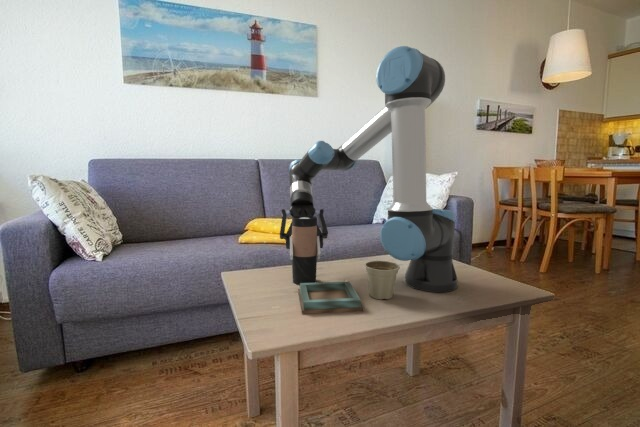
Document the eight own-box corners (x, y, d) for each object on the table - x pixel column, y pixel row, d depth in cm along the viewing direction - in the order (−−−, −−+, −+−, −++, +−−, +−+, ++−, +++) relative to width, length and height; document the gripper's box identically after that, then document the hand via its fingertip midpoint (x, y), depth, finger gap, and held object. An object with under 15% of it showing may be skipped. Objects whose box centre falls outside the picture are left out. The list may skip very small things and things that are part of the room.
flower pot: (398, 291, 96) (399, 261, 95) (398, 303, 87) (400, 271, 86) (365, 288, 98) (366, 259, 97) (362, 300, 89) (363, 268, 88)
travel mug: (306, 287, 99) (306, 219, 96) (286, 282, 103) (286, 217, 101) (321, 280, 105) (322, 216, 102) (302, 275, 109) (302, 214, 107)
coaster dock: (350, 289, 97) (350, 280, 97) (363, 311, 82) (363, 300, 82) (297, 291, 95) (297, 282, 95) (301, 313, 81) (301, 303, 80)
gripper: (330, 204, 118) (337, 262, 104) (271, 204, 115) (270, 264, 101) (332, 190, 112) (341, 249, 98) (270, 190, 109) (270, 251, 95)
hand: (305, 257), depth 99 cm, fingers closed on travel mug, 7 cm apart
